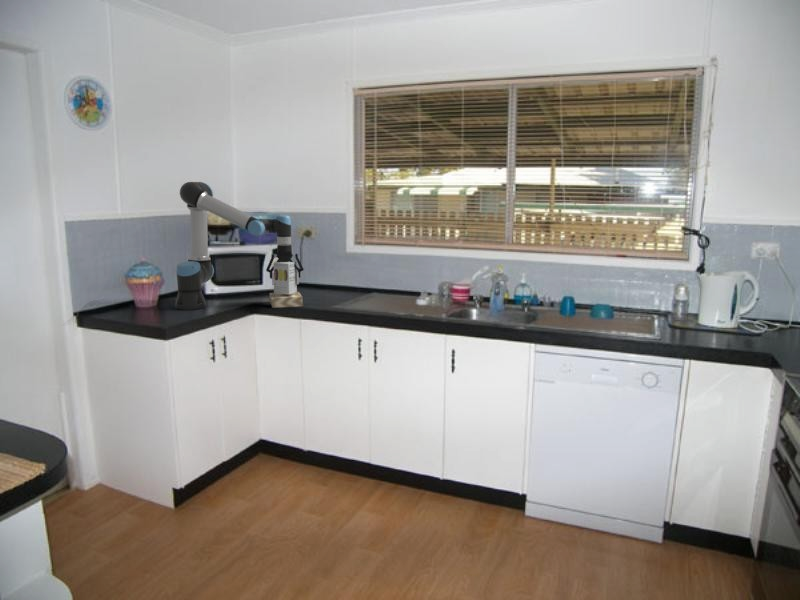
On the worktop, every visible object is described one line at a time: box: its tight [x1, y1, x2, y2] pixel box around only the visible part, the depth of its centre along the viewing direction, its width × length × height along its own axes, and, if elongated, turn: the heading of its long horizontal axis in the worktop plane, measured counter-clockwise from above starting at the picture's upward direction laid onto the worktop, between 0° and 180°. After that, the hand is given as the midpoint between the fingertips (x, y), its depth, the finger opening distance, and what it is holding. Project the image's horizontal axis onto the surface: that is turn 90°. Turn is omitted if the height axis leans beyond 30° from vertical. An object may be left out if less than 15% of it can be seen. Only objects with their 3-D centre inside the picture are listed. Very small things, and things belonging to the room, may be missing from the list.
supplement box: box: [272, 261, 298, 295], centre depth 304 cm, size 10×9×17 cm
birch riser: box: [269, 291, 304, 309], centre depth 307 cm, size 16×16×5 cm
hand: (285, 284), depth 305 cm, fingers closed on supplement box, 12 cm apart
